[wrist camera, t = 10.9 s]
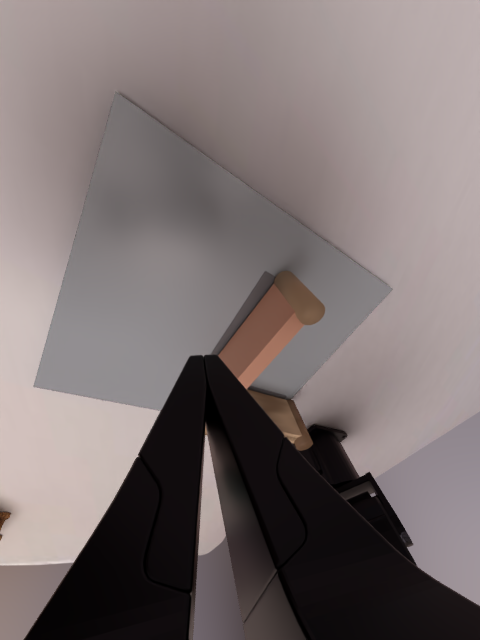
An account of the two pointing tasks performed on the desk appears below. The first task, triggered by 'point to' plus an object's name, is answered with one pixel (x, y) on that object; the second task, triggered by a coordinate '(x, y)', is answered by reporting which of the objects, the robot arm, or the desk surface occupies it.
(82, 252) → the card
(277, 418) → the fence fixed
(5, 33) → the desk surface
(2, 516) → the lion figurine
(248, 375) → the fence panel
